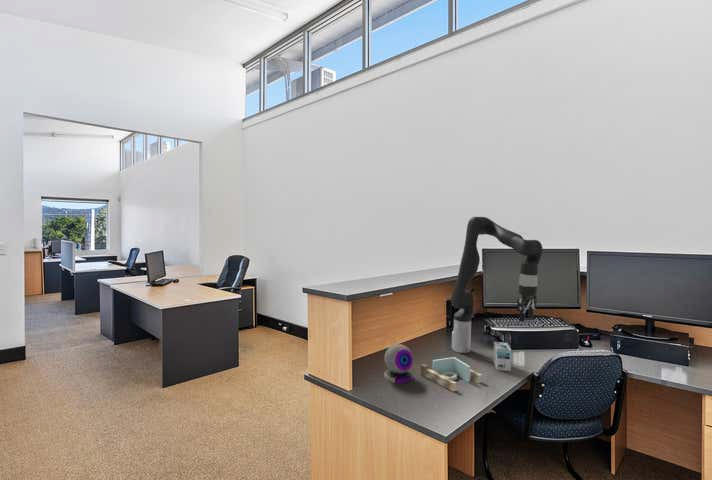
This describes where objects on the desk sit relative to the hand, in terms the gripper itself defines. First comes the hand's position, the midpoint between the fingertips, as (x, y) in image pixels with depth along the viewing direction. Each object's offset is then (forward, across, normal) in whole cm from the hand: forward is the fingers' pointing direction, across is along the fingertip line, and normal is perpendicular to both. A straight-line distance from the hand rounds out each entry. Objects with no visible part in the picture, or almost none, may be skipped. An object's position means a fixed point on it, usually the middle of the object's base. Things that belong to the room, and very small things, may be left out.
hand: (526, 319), depth 169 cm
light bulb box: (+28, -6, -13) cm, 31 cm away
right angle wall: (+28, +26, -21) cm, 44 cm away
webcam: (+28, +43, -38) cm, 64 cm away
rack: (+28, +26, -21) cm, 43 cm away
